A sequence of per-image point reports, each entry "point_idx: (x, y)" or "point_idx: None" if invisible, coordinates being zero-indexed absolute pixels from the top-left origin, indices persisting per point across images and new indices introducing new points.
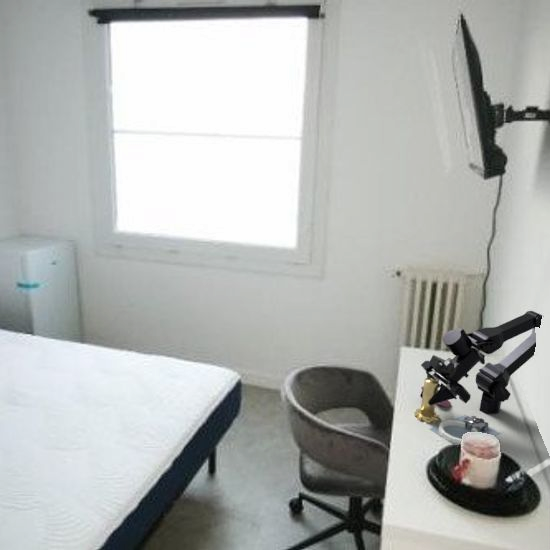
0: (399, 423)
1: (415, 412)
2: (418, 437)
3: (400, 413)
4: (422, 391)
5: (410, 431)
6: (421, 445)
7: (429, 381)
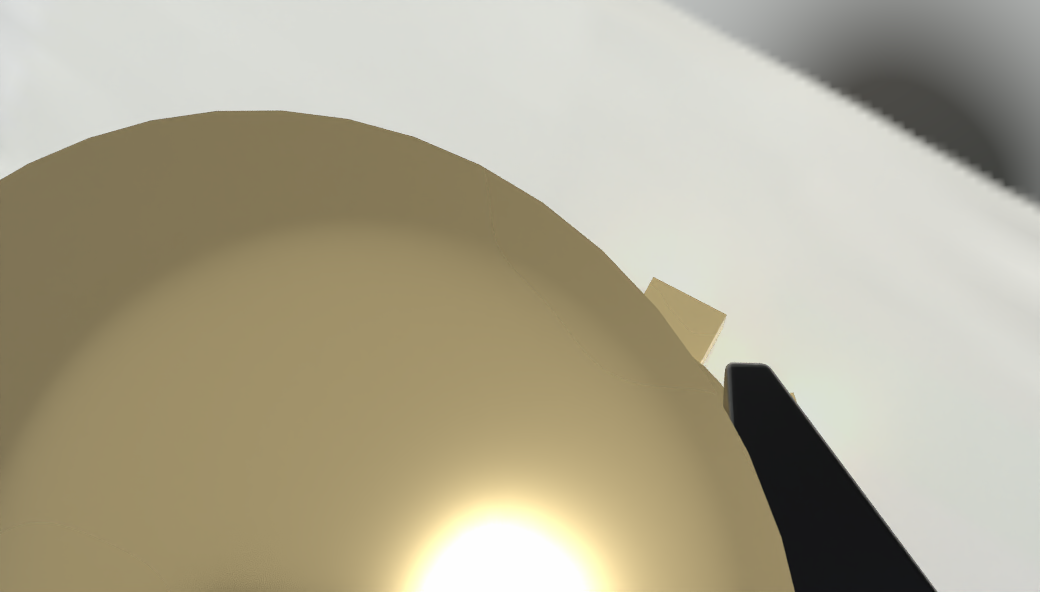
0: (599, 5)
1: (686, 307)
2: (223, 93)
3: (884, 165)
4: (803, 450)
5: (373, 60)
6: (75, 40)
7: (150, 404)
